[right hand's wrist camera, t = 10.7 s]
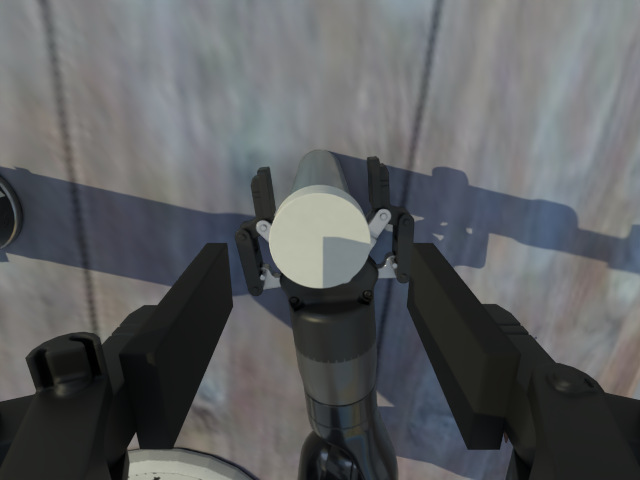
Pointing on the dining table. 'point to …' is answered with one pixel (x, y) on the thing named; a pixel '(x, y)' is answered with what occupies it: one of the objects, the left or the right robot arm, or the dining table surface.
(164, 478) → the wall clock
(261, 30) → the dining table surface
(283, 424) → the dining table surface
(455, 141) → the dining table surface
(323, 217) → the lid
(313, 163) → the gray cylinder
